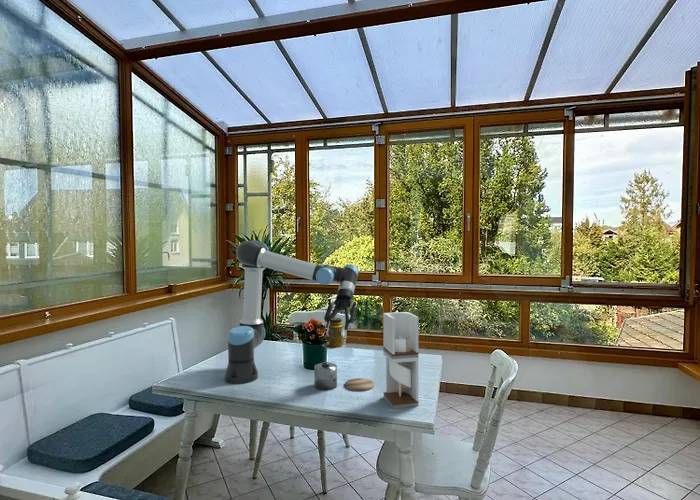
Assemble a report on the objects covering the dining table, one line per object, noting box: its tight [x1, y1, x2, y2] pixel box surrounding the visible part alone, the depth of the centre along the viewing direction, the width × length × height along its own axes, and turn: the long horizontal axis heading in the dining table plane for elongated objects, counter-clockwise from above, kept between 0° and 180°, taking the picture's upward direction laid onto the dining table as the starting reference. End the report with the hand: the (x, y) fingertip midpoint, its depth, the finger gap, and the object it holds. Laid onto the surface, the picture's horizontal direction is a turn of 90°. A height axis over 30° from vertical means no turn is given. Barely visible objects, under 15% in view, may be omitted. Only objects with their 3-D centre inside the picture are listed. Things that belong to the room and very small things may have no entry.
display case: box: [382, 311, 419, 409], centre depth 162 cm, size 11×11×35 cm
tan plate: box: [344, 377, 375, 392], centre depth 180 cm, size 13×13×1 cm
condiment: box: [321, 317, 347, 350], centre depth 177 cm, size 7×8×12 cm
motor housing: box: [313, 361, 338, 392], centre depth 180 cm, size 10×10×10 cm
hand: (335, 335), depth 176 cm, fingers closed on condiment, 6 cm apart
